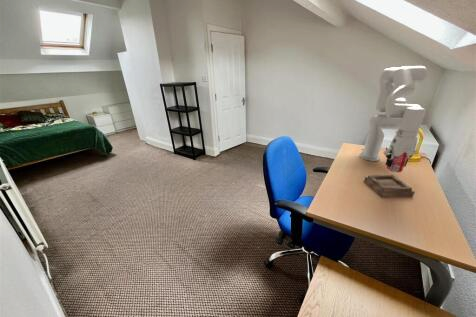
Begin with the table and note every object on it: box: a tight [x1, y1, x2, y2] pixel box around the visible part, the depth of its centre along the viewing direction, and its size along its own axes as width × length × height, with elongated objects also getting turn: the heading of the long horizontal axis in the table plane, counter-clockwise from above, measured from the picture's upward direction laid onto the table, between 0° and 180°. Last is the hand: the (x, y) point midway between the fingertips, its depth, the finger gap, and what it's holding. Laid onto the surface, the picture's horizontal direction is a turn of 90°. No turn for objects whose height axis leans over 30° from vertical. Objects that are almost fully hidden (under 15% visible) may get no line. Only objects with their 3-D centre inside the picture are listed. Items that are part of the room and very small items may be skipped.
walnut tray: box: [363, 174, 415, 199], centre depth 110 cm, size 16×16×4 cm
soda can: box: [386, 151, 408, 173], centre depth 103 cm, size 7×7×12 cm
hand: (395, 165), depth 104 cm, fingers closed on soda can, 7 cm apart
